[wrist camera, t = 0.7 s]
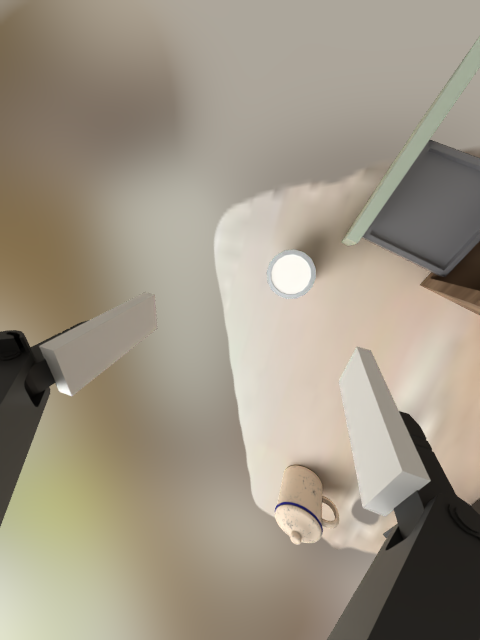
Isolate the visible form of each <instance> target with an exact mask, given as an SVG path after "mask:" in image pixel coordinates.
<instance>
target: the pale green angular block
mask: <svg viewBox="0 0 480 640" xmlns="http://www.w3.org/2000/svg"><path fill="white" fill-rule="evenodd" d="M479 68H480V36H479V38H478V39H477V41H476V42H475V44H474V45H473V46H472V48H471V49H470V51H469V52H468V54H467V55H466V56H465V58H464V59H463V61H462V62H461V64H460V65H459V67H458V68H457V69H456V71H455V72H454V74H453V75H452V77H451V78H450V79H449V81H448V82H447V84H446V85H445V87H444V88H443V89H442V91H441V92H440V94H439V95H438V97H437V98H436V100H435V101H434V102H433V104H432V105H431V107H430V108H429V110H428V111H427V113H426V114H425V115H424V117H423V118H422V120H421V121H420V123H419V124H418V126H417V127H416V129H415V130H414V132H413V133H412V135H411V136H410V138H409V139H408V141H407V142H406V144H405V145H404V147H403V149H402V150H401V151H400V153H399V155H398V156H397V158H396V159H395V161H394V162H393V164H392V165H391V167H390V168H389V170H388V171H387V173H386V174H385V176H384V177H383V179H382V181H381V182H380V184H379V185H378V187H377V188H376V190H375V191H374V193H373V194H372V196H371V197H370V199H369V200H368V202H367V203H366V205H365V206H364V208H363V210H362V211H361V213H360V214H359V216H358V217H357V219H356V220H355V222H354V223H353V225H352V226H351V228H350V229H349V231H348V232H347V234H346V236H345V237H344V239H343V240H342V242H341V243H343V244H345V245H347V246H351V245H354V244H358V242H359V241H360V239H361V238H363V239H365V240H367V241H369V242H371V243H373V244H375V245H377V246H380V247H382V248H384V249H386V250H388V251H390V252H392V253H394V254H396V255H398V256H400V257H402V258H404V259H406V260H408V261H410V262H412V263H414V264H416V265H418V266H420V267H422V268H424V269H426V270H428V271H430V272H433V273H435V274H437V275H439V276H442V277H446V276H447V275H448V274H449V273H450V271H451V270H452V269H453V268H454V267H455V266H456V265H457V264H458V263H459V262H460V261H461V260H462V259H463V258H464V257H465V256H466V255H467V254H468V253H469V252H470V251H471V250H472V249H473V247H474V246H475V245H476V244H477V243H478V242H479V241H480V158H478V157H475V156H472V155H470V154H467V153H464V152H462V151H459V150H456V149H454V148H451V147H448V146H446V145H443V144H440V143H438V142H435V141H432V140H430V138H431V137H432V135H433V134H434V132H435V131H436V129H437V128H438V127H439V125H440V124H441V122H442V121H443V119H444V118H445V117H446V115H447V114H448V112H449V111H450V109H451V108H452V107H453V105H454V104H455V102H456V101H457V99H458V98H459V96H460V95H461V94H462V92H463V91H464V89H465V88H466V86H467V85H468V83H469V82H470V80H471V79H472V78H473V76H474V75H475V73H476V72H477V70H478V69H479Z"/></svg>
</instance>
